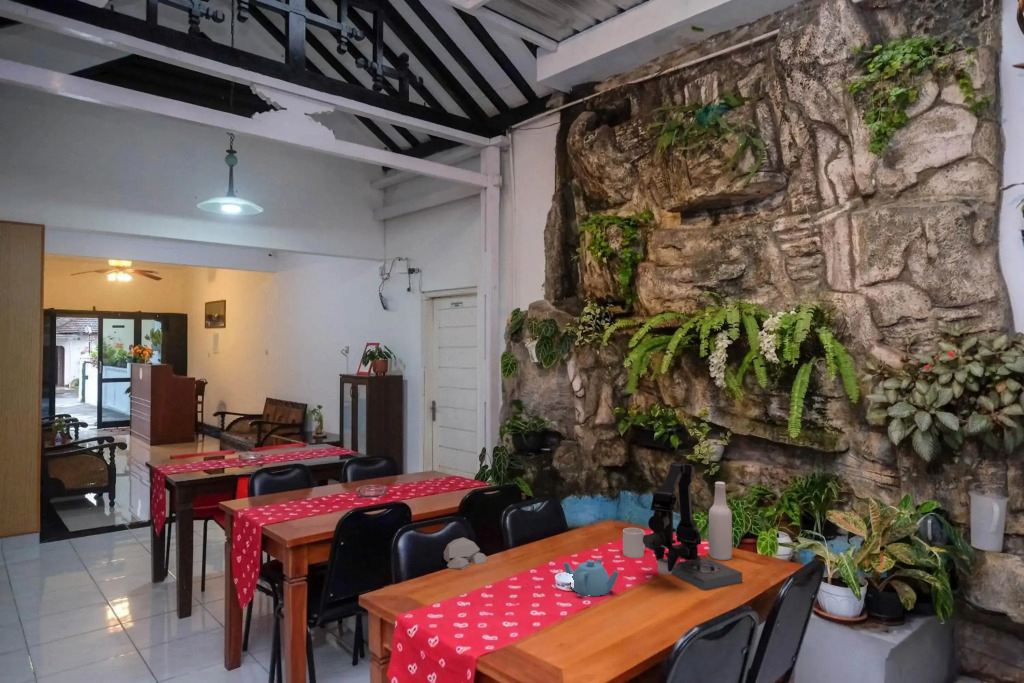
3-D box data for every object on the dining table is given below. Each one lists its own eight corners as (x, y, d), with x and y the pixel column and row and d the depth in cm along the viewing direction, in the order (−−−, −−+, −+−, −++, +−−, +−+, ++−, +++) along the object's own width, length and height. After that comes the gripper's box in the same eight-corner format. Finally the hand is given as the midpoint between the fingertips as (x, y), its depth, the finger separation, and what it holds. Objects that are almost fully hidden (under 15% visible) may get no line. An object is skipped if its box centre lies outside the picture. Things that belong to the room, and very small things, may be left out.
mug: (639, 550, 259) (639, 525, 259) (654, 555, 252) (654, 529, 253) (618, 555, 253) (618, 529, 253) (633, 560, 246) (633, 534, 246)
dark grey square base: (669, 573, 232) (669, 564, 232) (706, 566, 240) (706, 557, 240) (703, 590, 216) (703, 580, 216) (742, 582, 223) (742, 572, 223)
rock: (494, 563, 243) (494, 538, 243) (463, 579, 226) (463, 552, 226) (457, 554, 253) (458, 531, 253) (425, 569, 236) (425, 543, 236)
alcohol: (708, 559, 248) (708, 483, 248) (708, 552, 256) (708, 479, 256) (732, 561, 245) (732, 485, 246) (731, 554, 254) (731, 480, 254)
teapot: (561, 586, 219) (561, 555, 220) (600, 581, 224) (600, 551, 224) (579, 603, 205) (579, 570, 205) (620, 597, 209) (620, 565, 210)
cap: (654, 570, 224) (654, 559, 224) (665, 568, 227) (665, 557, 227) (663, 575, 220) (663, 563, 220) (675, 573, 222) (675, 561, 222)
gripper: (630, 521, 228) (630, 564, 228) (664, 535, 211) (664, 581, 211) (655, 517, 233) (655, 559, 233) (689, 531, 216) (689, 576, 216)
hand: (664, 568), depth 223 cm, fingers closed on cap, 5 cm apart
